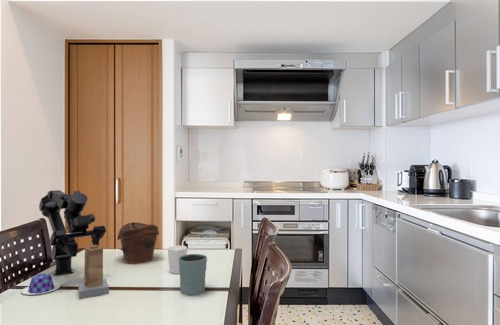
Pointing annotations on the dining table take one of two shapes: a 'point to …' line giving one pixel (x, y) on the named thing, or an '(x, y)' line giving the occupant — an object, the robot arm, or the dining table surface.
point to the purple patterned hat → (41, 285)
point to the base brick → (93, 290)
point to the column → (93, 266)
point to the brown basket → (138, 242)
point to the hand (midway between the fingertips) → (84, 253)
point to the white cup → (175, 257)
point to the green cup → (192, 273)
